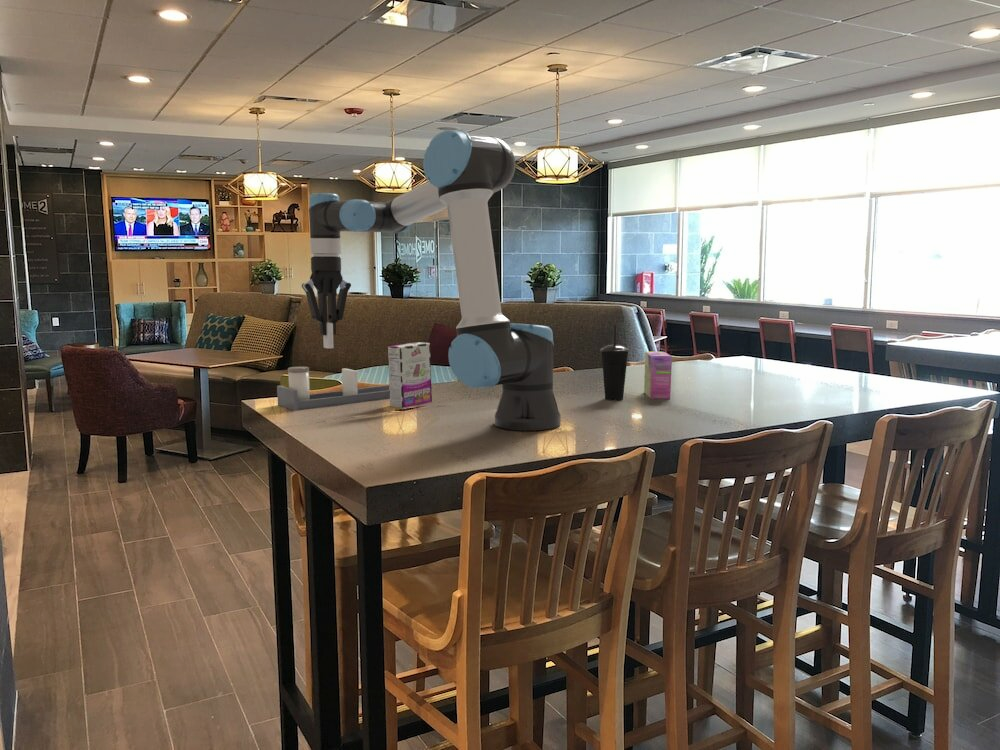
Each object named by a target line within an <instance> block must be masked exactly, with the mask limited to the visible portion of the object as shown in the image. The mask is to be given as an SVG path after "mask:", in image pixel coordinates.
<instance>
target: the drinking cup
mask: <svg viewBox="0 0 1000 750" xmlns="http://www.w3.org/2000/svg"><path fill="white" fill-rule="evenodd" d="M629 352H630V349H629V348H627V347H626V346H624V345H621V344H617V325H616V324H614V325H613V343H612V344H608V345H605V346H604V347H601V348H600V353H601V362H602V377H603V387H604V388H603V389H604V399H605V400H607V401H622V400H624V392H625V384H626V375H627V365H628V355H629Z"/></svg>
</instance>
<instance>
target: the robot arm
mask: <svg viewBox="0 0 1000 750" xmlns="http://www.w3.org/2000/svg"><path fill="white" fill-rule="evenodd" d="M423 155H424V156H423V164H422V165H423V166H422V167H423V171H424V172H423V173H424V176H425V178H426V180H427V182H425V183H423V184H421V185H419V186H417V187H414V188H413V189H411V190H409V191H407V192H405V193H402V194H400V195H399V196H397V197H395V198H393V199H391V200H388V201H386V202H385V201H384V202H382V201H369V200H366V199H360V198H359V199H358V198H356V199H355V198H354V199H346V200H340V196H339V195H338V194H337V193H333V192H332V193H330V192H321V193H319V192H316V193H311V194H310V196H309V201H308V202H309V203H308V204H309V205H308V217H309V235H310V236H309V238H310V239H309V242H310V243H309V244H310V245H309V246H310V254H311V255H312V256H311V257H310V271H311V275H310V276H309V280H308V281H307V282H305V283H302V284H301V288H302V289H303V291H304V292H305V295H306V299H307V303H308V306H309V310H310V311H309V312H310V315H311V318H312V320H313V321H316V322H318V323H319V333H320V335H321V336H323V337H322V338H323V340H322V341H323V348H324V349H334V348H335V347H334V345H335V344H334V335H335V336H336V334H337V323H338V321H340V320H343V319H344V314H345V309H346V302H347V298H348V293H349V290H350V288H351V287H352V284H351V282H347V281H345V280H344V277H343V275H342V258H341V257H340V256H339V255H341V253H342V251H341V250H342V248H341V232H354V233H355V232H359V233H360V232H361V233H364V232H365V233H388V234H399V233H406V232H408V231H409V230H410V229H411V227H412V226H413V224H415V223H418V222H419V221H421V220H424V219H426V218H428V217H431V216H433V215H436V214H437V213H441V212H442V211H444V210H447V214H448V216H447V217H448V222H449V229H450V238H451V239H450V240H451V245H452V253H453V259H454V260H453V261H454V267H455V268H454V270H455V276H456V283H457V291H458V299H459V305H460V306H459V307H460V314H461V320H460V321H459V322H458V324H457V325H456V327H455V330H456V337H455V338H454V339H453V340H452V341H451V344H450V347H449V348H448V355H447V357H448V363H449V367H450V369H451V372H452V374H453V375H454V376H455V378H456V379H457V381H460V382H461V384H462V385H464V386H466V387H468V388H471V389H481V388H482V389H488V388H492V387H495V386H499V385H502V386H501V394H500V398H499V401H498V404H497V407H496V411H495V412H494V426H496V427H498V428H500V429H504V430H511V431H527V432H528V431H532V432H533V431H544V430H551V429H556V428H558V427H559V426H561V413H560V411H559V408H558V407H559V406H558V404H557V399H556V397H555V394H554V346H555V343H554V334H553V330H552V328H551V327H549V326H547V325H540V324H527V323H515V322H514V323H513V322H511V321H510V319H508V318H507V317H506V316H505V315H503V313H502V305H501V299H500V298H501V296H500V289H499V283H498V282H499V281H498V275H497V273H498V272H497V268H496V267H497V266H496V259H495V250H494V244H493V243H494V242H493V236H492V229H491V227H492V226H491V220H490V219H491V218H490V212H489V205H488V204H489V203H488V202H489V200H490V198H491V197H492V196H493V195H494V194H495V193H496V192H499V191H501V190H502V189H504V188H505V187H506V186H508V185H509V184H510V182H511V181H512V179H513V177H514V176H515V175H514V174H515V171H516V158H515V155H514V152H513V150H512V149H511V147H510V146H509V144H508V143H506V142H505V141H504V140H503V139H501V138H498V137H495V136H491V135H485V134H480V133H479V134H478V133H472V132H467V131H465V130H460V129H458V130H454V129H453V130H451V129H450V130H449V129H447V130H443V131H441V132H439V133H438V134H436V135H435V136H433V138H432V139H431V140H430V141H429V144H428V146H427V147H426V149H425V152H424V154H423ZM314 288H315V289H316V293H317V297H318V299H317V298H316V294H315V291H314ZM338 288H340V289H339V291H338ZM337 291H338V293H337ZM337 295H338V296H337ZM317 301H318V302H317Z"/></svg>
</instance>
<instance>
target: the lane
mask: <svg viewBox="0 0 1000 750" xmlns="http://www.w3.org/2000/svg"><path fill="white" fill-rule="evenodd" d="M276 393H277V394H276V395H277V406H279V407H282V408H284V409H287V410H290V411H294V412H295V411H296V412H297V411H303V410H310V409H311V410H312V409H321V408H327V407H328V408H329V407H337V406H343V405H350V404H356V403H357V404H360V403H367V402H376V401H383V400H390V385H389V384H388V385H387V384H386V385H385V384H384V385H379V386H370V387H360V388H358V394H354V395H345V396H343V389H342V390H335V391H325V392H317V393H310V400H304V401H297V390H294V389H291V388H289V386H288V387H286V386H284V385H277V386H276Z"/></svg>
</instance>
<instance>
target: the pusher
mask: <svg viewBox="0 0 1000 750" xmlns="http://www.w3.org/2000/svg"><path fill="white" fill-rule="evenodd" d="M341 382H342V383H341V385H342V390H343V396H345V395H354V394H358V389H359V388H358V370H355V369H351V368H347V367H346V368H341Z"/></svg>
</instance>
